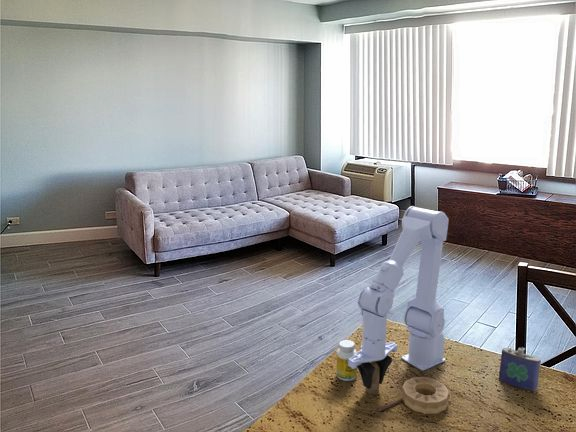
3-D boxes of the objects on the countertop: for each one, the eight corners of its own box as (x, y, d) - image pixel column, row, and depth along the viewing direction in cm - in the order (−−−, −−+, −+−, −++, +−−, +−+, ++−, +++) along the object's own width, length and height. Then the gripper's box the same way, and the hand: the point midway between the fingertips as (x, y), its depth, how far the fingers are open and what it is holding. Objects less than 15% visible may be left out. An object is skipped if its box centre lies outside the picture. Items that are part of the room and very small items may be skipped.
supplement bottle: (347, 368, 137) (348, 336, 134) (361, 377, 132) (361, 344, 130) (332, 374, 134) (332, 342, 131) (345, 384, 130) (345, 350, 127)
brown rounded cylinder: (372, 386, 128) (373, 357, 126) (381, 392, 126) (382, 363, 124) (363, 390, 127) (364, 361, 125) (372, 396, 124) (372, 366, 122)
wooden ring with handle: (423, 382, 129) (423, 372, 129) (456, 403, 121) (457, 392, 120) (372, 406, 120) (372, 395, 119) (404, 430, 112) (404, 419, 111)
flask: (538, 389, 126) (542, 351, 123) (535, 395, 124) (539, 356, 121) (500, 377, 132) (503, 340, 129) (496, 382, 129) (500, 344, 127)
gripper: (384, 321, 130) (382, 368, 133) (340, 337, 122) (340, 386, 125) (404, 332, 124) (402, 380, 127) (359, 349, 116) (358, 400, 120)
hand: (372, 384), depth 126 cm, fingers closed on brown rounded cylinder, 3 cm apart
